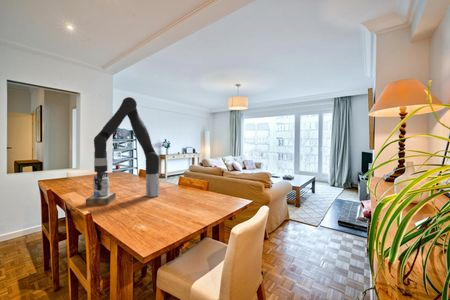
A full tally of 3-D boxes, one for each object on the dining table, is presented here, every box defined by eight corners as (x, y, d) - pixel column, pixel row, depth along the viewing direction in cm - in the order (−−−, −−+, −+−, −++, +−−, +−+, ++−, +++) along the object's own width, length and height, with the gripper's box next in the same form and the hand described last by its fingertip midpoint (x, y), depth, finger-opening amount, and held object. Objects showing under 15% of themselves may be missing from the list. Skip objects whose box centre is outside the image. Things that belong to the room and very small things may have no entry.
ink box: (93, 196, 126) (92, 178, 125) (95, 194, 130) (94, 177, 129) (108, 195, 129) (107, 178, 128) (109, 193, 133) (109, 176, 133)
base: (115, 198, 137) (115, 192, 137) (107, 204, 124) (107, 198, 124) (96, 199, 135) (95, 193, 135) (85, 205, 122) (85, 199, 122)
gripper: (101, 166, 122) (102, 191, 123) (111, 163, 136) (111, 186, 137) (89, 166, 120) (89, 192, 122) (100, 163, 135) (100, 186, 136)
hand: (101, 188), depth 129 cm, fingers closed on ink box, 5 cm apart
